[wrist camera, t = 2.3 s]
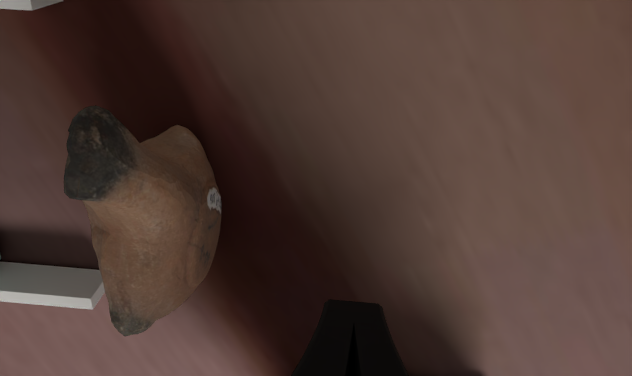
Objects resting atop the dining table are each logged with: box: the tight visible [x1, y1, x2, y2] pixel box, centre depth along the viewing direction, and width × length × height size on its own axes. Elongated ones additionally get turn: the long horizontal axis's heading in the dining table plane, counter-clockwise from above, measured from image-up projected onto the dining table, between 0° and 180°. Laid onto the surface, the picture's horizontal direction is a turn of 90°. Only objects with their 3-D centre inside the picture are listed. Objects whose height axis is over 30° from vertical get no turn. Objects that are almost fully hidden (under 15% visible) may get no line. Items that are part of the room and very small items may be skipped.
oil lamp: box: [64, 106, 221, 336], centre depth 18 cm, size 9×4×8 cm, turn 0°
